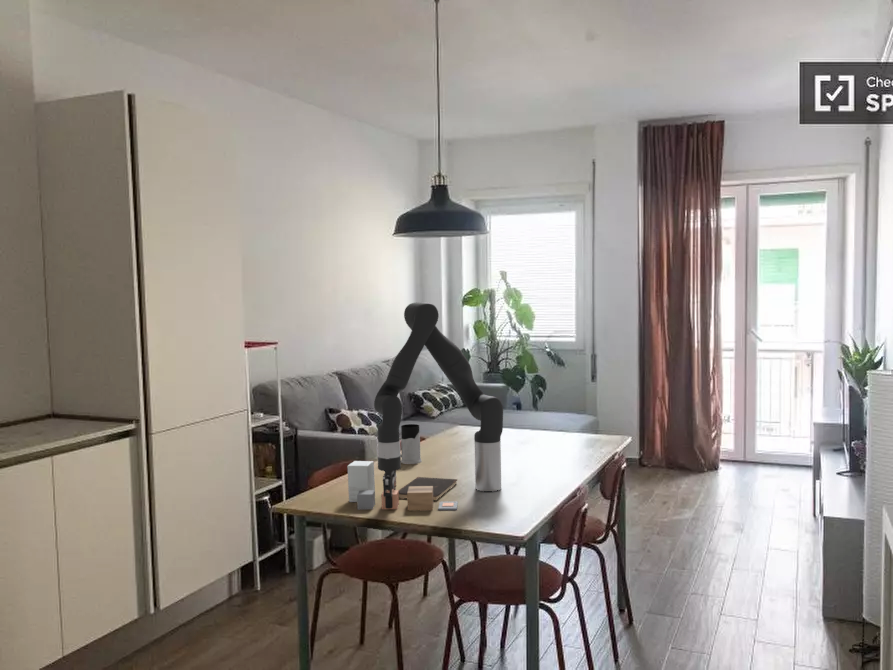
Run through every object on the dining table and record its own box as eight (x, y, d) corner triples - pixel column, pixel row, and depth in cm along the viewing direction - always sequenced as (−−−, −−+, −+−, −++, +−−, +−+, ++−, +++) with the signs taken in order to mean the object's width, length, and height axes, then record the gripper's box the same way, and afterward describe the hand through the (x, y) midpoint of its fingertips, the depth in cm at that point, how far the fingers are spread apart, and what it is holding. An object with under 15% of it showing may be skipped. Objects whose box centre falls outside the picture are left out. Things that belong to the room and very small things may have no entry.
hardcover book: (457, 485, 277) (457, 479, 277) (437, 502, 255) (437, 495, 255) (416, 483, 282) (416, 476, 282) (393, 499, 260) (393, 492, 260)
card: (439, 503, 252) (439, 500, 252) (457, 503, 252) (457, 500, 252) (438, 510, 245) (438, 507, 244) (456, 510, 244) (456, 507, 244)
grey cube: (360, 505, 253) (359, 490, 252) (375, 505, 252) (374, 490, 252) (357, 509, 248) (357, 494, 247) (372, 509, 247) (372, 494, 247)
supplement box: (375, 497, 262) (374, 460, 261) (368, 503, 255) (367, 465, 254) (355, 496, 264) (354, 460, 263) (348, 502, 256) (346, 465, 256)
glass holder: (420, 463, 311) (420, 427, 310) (386, 464, 311) (385, 428, 310) (422, 459, 319) (421, 423, 318) (388, 459, 320) (387, 424, 319)
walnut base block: (409, 504, 253) (409, 486, 253) (433, 503, 253) (433, 486, 252) (407, 511, 245) (407, 492, 245) (432, 510, 245) (432, 492, 244)
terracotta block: (384, 505, 252) (383, 490, 252) (399, 505, 252) (398, 490, 252) (381, 509, 247) (381, 494, 247) (397, 509, 247) (396, 494, 247)
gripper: (380, 450, 256) (382, 499, 257) (374, 459, 242) (375, 511, 243) (403, 450, 255) (404, 499, 256) (397, 459, 241) (399, 511, 242)
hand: (390, 505), depth 249 cm, fingers open, 6 cm apart
